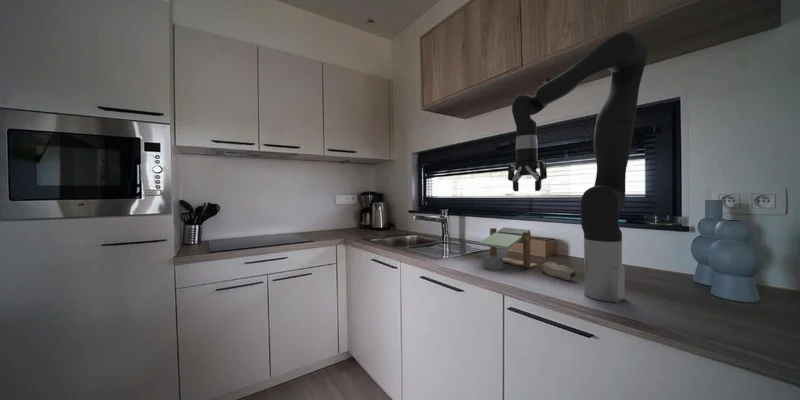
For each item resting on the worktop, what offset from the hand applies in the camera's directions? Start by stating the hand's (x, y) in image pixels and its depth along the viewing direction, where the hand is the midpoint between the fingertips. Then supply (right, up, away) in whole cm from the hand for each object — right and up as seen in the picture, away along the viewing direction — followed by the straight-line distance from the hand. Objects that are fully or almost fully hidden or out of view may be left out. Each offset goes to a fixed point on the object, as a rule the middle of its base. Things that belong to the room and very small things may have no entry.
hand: (526, 191), depth 107 cm
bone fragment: (+12, -32, -1) cm, 34 cm away
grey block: (-7, -30, +12) cm, 33 cm away
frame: (+2, -32, +19) cm, 37 cm away
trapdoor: (-1, -23, +17) cm, 29 cm away
